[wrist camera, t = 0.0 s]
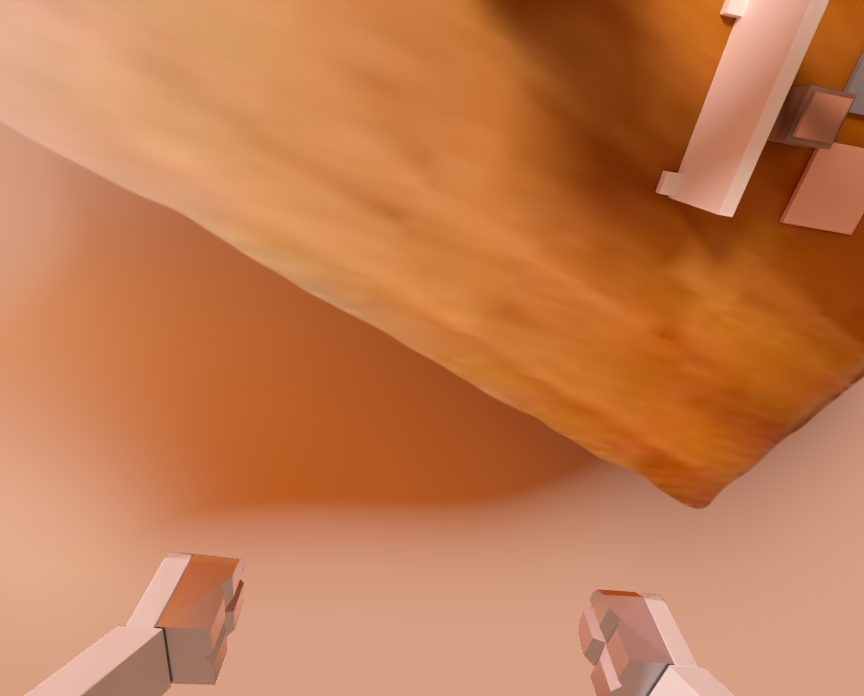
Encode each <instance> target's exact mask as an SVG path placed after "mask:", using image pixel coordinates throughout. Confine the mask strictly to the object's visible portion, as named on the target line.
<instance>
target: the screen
mask: <svg viewBox="0 0 864 696" xmlns="http://www.w3.org/2000/svg"><path fill="white" fill-rule="evenodd" d="M828 2H829V0H725V2H724V5H723V7H722V10H721V13H720V15H723V16H728V17H732V18H736V20H735V23H734V25H733V28H732V31H731V33H730V36H729V39H728V41H727V44H726V47H725V49H724V52H723V54H722V57H721V60H720V62H719V65H718V68H717V70H716V73H715V76H714V78H713V81H712V83H711V86H710V89H709V91H708V94H707V97H706V99H705V102H704V105H703V107H702V110H701V113H700V115H699V118H698V120H697V123H696V126H695V128H694V131H693V134H692V136H691V139H690V142H689V144H688V147H687V150H686V152H685V155H684V157H683V160H682V163H681V165H680V168H679V171H678V173H675V172H669V171H664V170H663V172H662V175H661V177H660V180H659V183H658V186H657V188H656V191H655V192H656V193H658V194H664V195H669V197H668V198H671V199H674V200H677V201H680V202H683V203H686V204H689V205H691V206H694V207H697V208H700V209H703V210H706V211H709V212H712V213H715V214H717V215H723V216H728V217H733V215H734V213H735V210H736V208H737V206H738V204H739V201H740V199H741V197H742V195H743V192H744V190H745V188H746V186H747V184H748V181H749V179H750V177H751V175H752V172H753V170H754V168H755V166H756V163H757V161H758V159H759V157H760V154H761V152H762V150H763V148H764V145H765V143H766V141H767V139H768V136H769V134H770V132H771V130H772V127H773V125H774V123H775V121H776V118H777V116H778V114H779V112H780V110H781V107H782V105H783V103H784V101H785V98H786V96H787V94H788V92H789V89H790V87H791V85H792V83H793V80H794V78H795V76H796V74H797V71H798V69H799V67H800V65H801V62H802V60H803V58H804V56H805V53H806V51H807V49H808V47H809V45H810V42H811V40H812V38H813V36H814V33H815V31H816V29H817V27H818V24H819V22H820V20H821V18H822V15H823V13H824V11H825V9H826V6H827V4H828Z"/></svg>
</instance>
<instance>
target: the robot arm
mask: <svg viewBox="0 0 864 696" xmlns="http://www.w3.org/2000/svg"><path fill="white" fill-rule="evenodd" d="M243 570H244V568H243V559H234V558H225V557H216V556H206V555H198V554H188V553H178V552H170V554H168V555H167V557H166V558H165V559H164V560H163V562H162V564H161V565H160V567H159V569H158V571H157V573H156V574H155V576H154V578H153V579H152V581H151V583H150V585H149V586H148V588H147V590H146V592H145V593H144V595H143V597H142V599H141V600H140V602H139V604H138V606H137V607H136V609H135V611H134V613H133V614H132V616H131V618H130V620H129V621H128V623H127V625H126V626H124V625H118V626H117V627H116V628H114V629H113V630H111V631H110V632H109V633H107V634H106V635H105V636H103V637H102V638H101V639H99V640H98V641H97V642H95V643H94V644H93V645H91V646H90V647H89V648H87V649H86V650H84V651H83V652H82V653H80V654H79V655H78V656H76V657H75V658H74V659H72V660H71V661H70V662H68V663H67V664H66V665H65V666H63V667H62V668H60V669H59V670H58V671H56V672H55V673H54V674H52V675H51V676H49V677H48V678H47V679H46V680H44V681H43V682H42V683H40V684H39V685H37V686H36V687H35V688H33V689H32V690H31V691H29V692H28V693H27V694H25V695H24V696H162V695H163V694H164V693H165V692H166V691H167V690H168V689H169V688H170V687H171V683H175V684H176V683H177V684H208V685H210V684H211V685H215V683H216V680H217V677H218V674H219V672H220V669H221V666H222V663H223V660H224V658H225V655H226V652H227V639H226V637H227V636H228V635H229V634H230V633H231V632H232V631H233V630H235V626H236V624H237V620H238V618H239V614H240V610H241V606H242V602H243V595H244V583H243V582H242V581H241V580H240V578H241V575H242V573H243ZM590 601H591V604H592V607H590V608H588V609H587V610H585V611H584V612H583V615H582V617H581V619H580V629H579V634H580V641H581V646H582V649H583V653H584V655H585V656H586V658H587V659H588V660H589V661H590V662H591V663H592V664H593V665H594V667H593V670H592V673H591V679H592V682H593V685H594V688H595V691H596V694H597V696H734V695H733V694H732V693H731V692H730V691H728V689H726V688H725V687H724V686H723V685H722V684H721V683H720V682H719V681H718V680H717V679H716V678H715V677H714V676H713V675H712V674H711V673H710V672H708V671H707V670H706V669H705V668H704V667H698V666H697V664H696V662H695V660H694V658H693V656H692V654H691V652H690V650H689V648H688V646H687V644H686V642H685V640H684V638H683V637H682V635H681V632H680V631H679V629H678V627H677V625H676V623H675V621H674V619H673V617H672V615H671V613H670V611H669V609H668V607H667V606H666V603H665V601H664V600H663V599H662V598H661V597H660V596H659V595H655V594H643V593H636V592H625V591H611V590H596V591H594V592H593V594H592V596H591V598H590Z"/></svg>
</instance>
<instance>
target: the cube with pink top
mask: <svg viewBox="0 0 864 696" xmlns="http://www.w3.org/2000/svg"><path fill="white" fill-rule="evenodd" d="M856 97H857V94H852V93H848V92H843V91H838V90H833V89H828V88H824V87H819V86H814V85H802V86H791V87H790V89H789V92H788V94H787V96H786V98H785V101H784V103H783V105H782V107H781V110H780V112H779V114H778V116H777V118H776V121H775V123H774V125H773V127H772V130H771V132H770V134H769V136H768V139H767V141H772V142H778V143H783V144H788V145H793V146H799V147H809V148H820V149H830V148H831V146H832V144H833V142H834V140H835V138H836V136H837V134H838V132H839V130H840V128H841V126H842V124H843V122H844V121H845V119H846V117H847V115H848V113H849V111H850V109H851V107H852V105H853V103H854V101H855V99H856Z"/></svg>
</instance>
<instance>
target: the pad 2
mask: <svg viewBox="0 0 864 696" xmlns="http://www.w3.org/2000/svg"><path fill="white" fill-rule="evenodd" d="M843 92H848V93H852V94H857V97H856V99H855V101H854V103H853V105H852V107H851V109H850V111H849V113H852V114H857V115H862V116H864V50H863V52H862V54H861V56H860V58H859V60H858V62H857V64H856V66H855V68H854V70H853V72H852V75H851V77H850V79H849V81H848V83H847V85H846V87H845V89H844V91H843Z"/></svg>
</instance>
